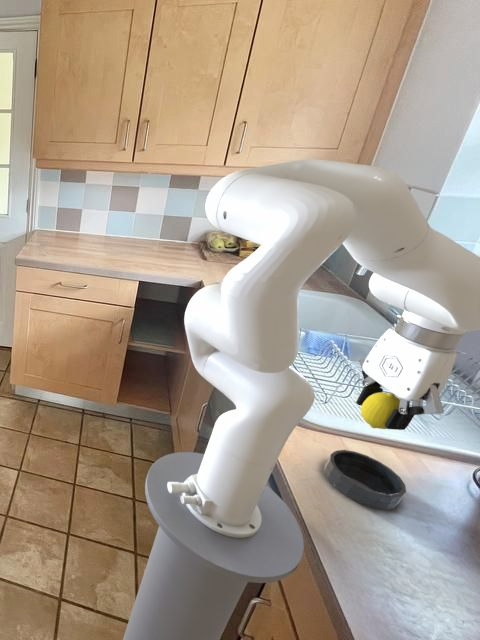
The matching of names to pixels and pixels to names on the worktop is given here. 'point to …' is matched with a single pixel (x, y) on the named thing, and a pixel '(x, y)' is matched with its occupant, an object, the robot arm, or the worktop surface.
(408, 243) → the robot arm
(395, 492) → the pan
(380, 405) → the lemon
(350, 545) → the worktop surface
